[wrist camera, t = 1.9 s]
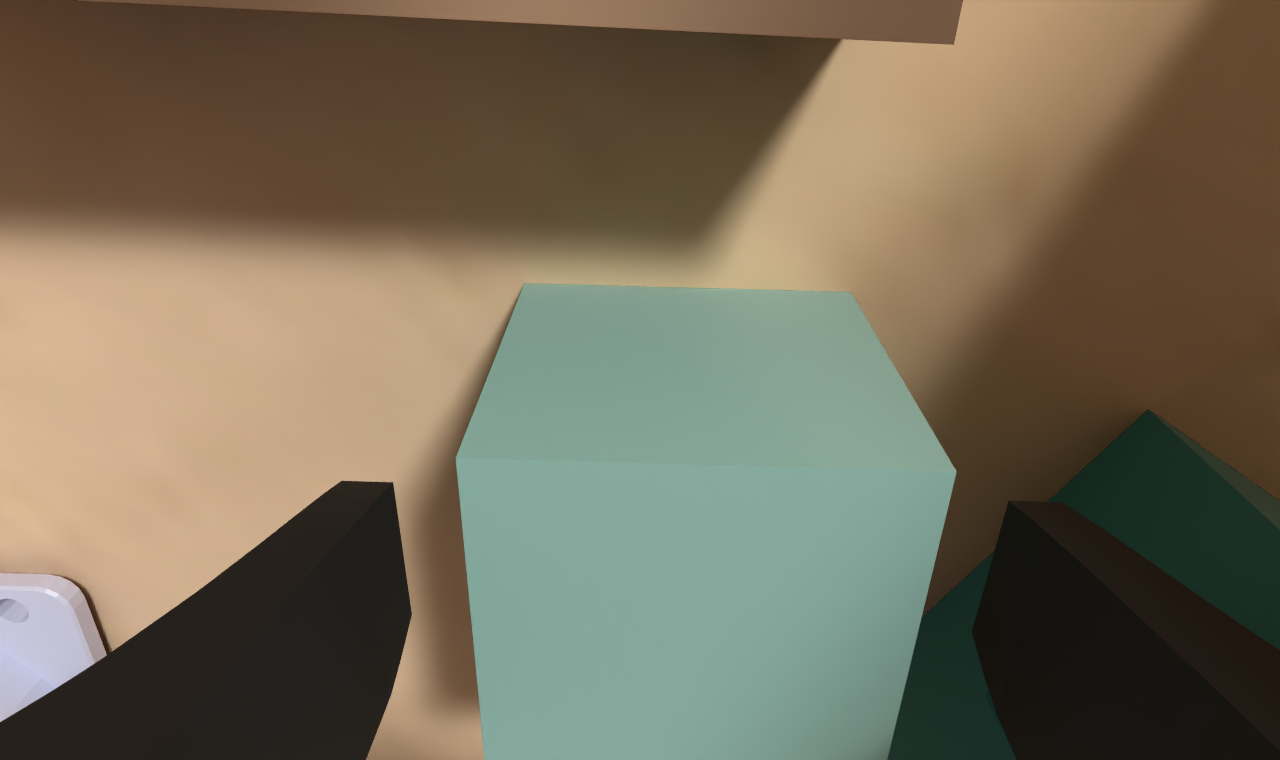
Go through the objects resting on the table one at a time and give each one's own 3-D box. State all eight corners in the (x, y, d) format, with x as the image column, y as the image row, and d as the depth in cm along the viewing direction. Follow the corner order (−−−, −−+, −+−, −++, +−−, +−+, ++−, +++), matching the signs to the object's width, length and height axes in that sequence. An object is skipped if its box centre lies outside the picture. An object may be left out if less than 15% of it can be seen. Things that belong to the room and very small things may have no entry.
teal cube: (536, 539, 14) (488, 787, 10) (525, 281, 12) (456, 457, 8) (811, 547, 14) (877, 797, 10) (850, 290, 12) (956, 471, 7)
